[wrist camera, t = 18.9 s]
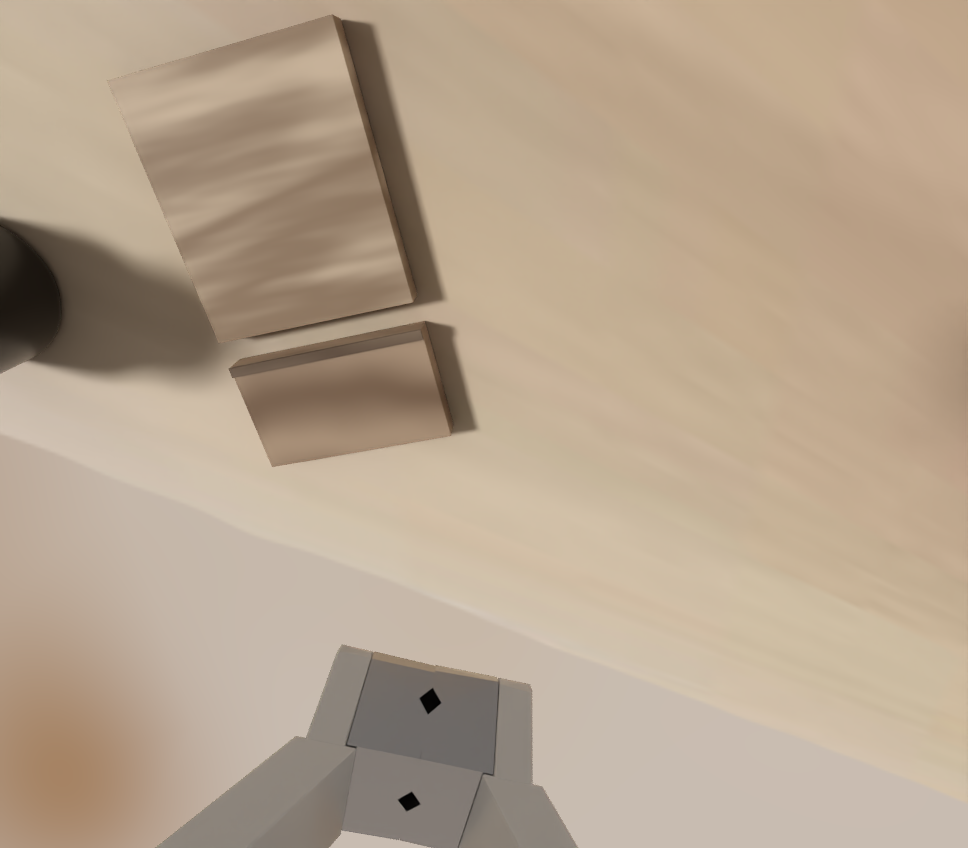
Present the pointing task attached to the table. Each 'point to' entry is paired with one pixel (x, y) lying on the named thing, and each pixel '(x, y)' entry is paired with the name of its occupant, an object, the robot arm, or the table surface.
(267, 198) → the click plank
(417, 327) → the laid plank
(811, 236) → the table surface
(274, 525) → the table surface
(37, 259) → the ink bottle
